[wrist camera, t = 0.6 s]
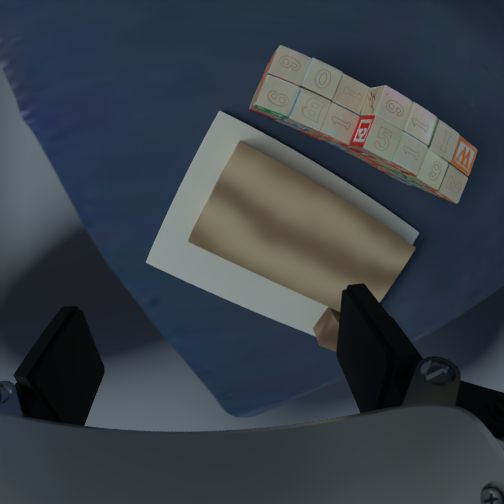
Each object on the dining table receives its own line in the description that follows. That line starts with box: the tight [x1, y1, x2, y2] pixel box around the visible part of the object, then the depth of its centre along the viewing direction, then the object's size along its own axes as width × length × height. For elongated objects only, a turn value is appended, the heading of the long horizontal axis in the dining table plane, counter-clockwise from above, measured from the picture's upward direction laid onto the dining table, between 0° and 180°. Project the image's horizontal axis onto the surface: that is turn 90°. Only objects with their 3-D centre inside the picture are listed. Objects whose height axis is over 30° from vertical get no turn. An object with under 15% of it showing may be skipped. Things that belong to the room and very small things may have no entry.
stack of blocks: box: [249, 45, 477, 204], centre depth 29 cm, size 21×6×12 cm, turn 69°
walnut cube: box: [313, 307, 340, 351], centre depth 41 cm, size 4×4×4 cm
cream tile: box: [146, 111, 419, 336], centre depth 39 cm, size 20×30×1 cm, turn 61°
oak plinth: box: [188, 141, 416, 312], centre depth 37 cm, size 12×25×3 cm, turn 61°
